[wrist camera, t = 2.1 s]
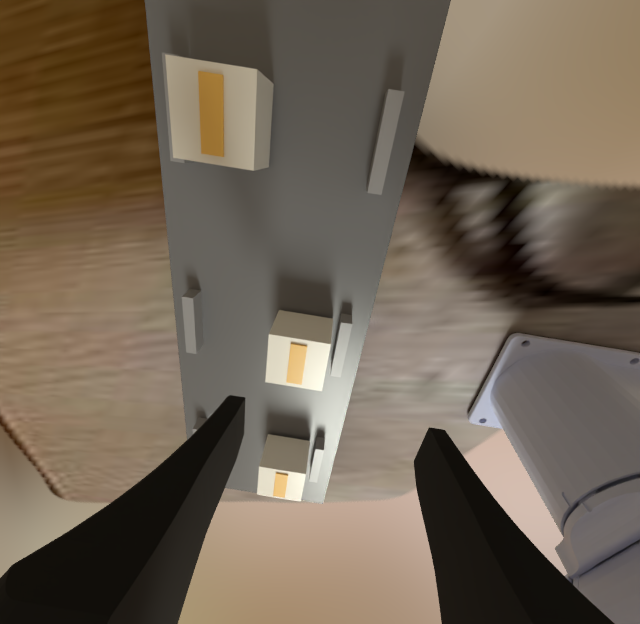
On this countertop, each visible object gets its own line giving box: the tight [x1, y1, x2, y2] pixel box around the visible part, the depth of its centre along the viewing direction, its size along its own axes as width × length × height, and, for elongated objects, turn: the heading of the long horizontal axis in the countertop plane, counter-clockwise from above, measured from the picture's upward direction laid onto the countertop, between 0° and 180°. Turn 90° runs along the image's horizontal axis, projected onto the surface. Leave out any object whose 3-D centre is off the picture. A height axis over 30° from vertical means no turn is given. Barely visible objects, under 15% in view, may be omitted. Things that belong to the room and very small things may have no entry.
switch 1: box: [165, 54, 274, 171], centre depth 12 cm, size 3×3×3 cm
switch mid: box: [265, 310, 333, 391], centre depth 16 cm, size 3×3×3 cm
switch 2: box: [257, 434, 310, 502], centre depth 21 cm, size 3×3×3 cm
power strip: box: [145, 0, 451, 504], centre depth 19 cm, size 11×32×4 cm, turn 172°
